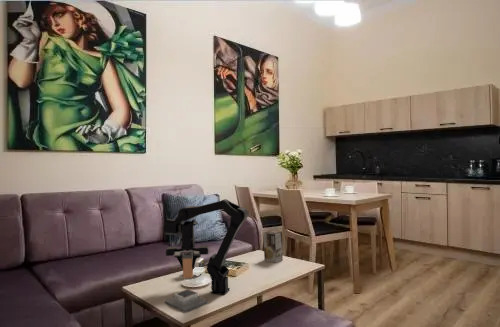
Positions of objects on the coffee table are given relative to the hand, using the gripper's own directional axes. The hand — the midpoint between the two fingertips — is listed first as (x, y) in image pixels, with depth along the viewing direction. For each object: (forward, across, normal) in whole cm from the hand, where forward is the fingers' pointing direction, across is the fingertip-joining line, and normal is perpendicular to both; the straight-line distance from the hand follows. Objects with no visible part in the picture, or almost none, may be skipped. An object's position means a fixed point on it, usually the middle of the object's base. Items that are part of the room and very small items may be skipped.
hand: (188, 269), depth 144 cm
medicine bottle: (+9, 0, -20) cm, 22 cm away
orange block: (+3, 0, 0) cm, 3 cm away
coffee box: (+9, -43, -38) cm, 58 cm away
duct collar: (+9, -1, +14) cm, 17 cm away
